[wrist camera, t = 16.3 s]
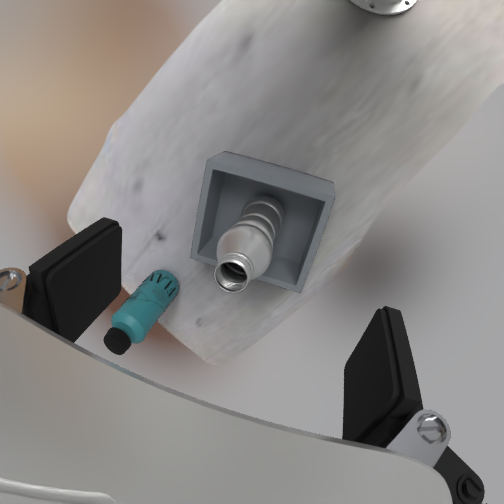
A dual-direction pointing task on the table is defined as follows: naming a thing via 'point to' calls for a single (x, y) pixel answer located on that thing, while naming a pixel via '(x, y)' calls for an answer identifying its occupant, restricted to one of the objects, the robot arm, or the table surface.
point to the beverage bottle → (141, 311)
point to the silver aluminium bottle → (248, 244)
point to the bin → (272, 184)
